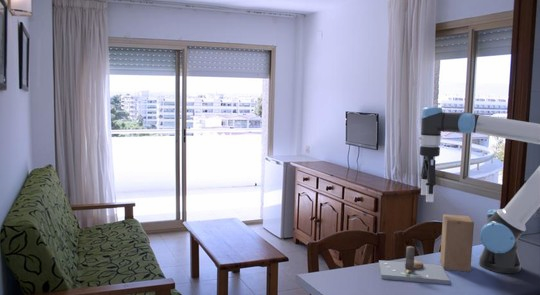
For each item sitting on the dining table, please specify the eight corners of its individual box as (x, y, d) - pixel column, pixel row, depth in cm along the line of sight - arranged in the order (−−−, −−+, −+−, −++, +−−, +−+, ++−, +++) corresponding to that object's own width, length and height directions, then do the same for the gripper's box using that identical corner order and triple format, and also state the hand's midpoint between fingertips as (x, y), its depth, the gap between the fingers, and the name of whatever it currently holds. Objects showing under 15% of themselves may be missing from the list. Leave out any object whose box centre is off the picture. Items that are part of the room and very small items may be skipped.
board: (441, 268, 187) (441, 264, 187) (449, 284, 172) (449, 279, 172) (378, 263, 191) (379, 259, 191) (381, 278, 176) (381, 274, 175)
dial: (407, 261, 190) (408, 238, 189) (425, 264, 186) (426, 241, 185) (396, 272, 177) (398, 248, 176) (415, 276, 173) (417, 252, 172)
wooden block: (470, 272, 184) (474, 221, 182) (443, 269, 186) (446, 220, 184) (465, 263, 194) (468, 215, 192) (439, 261, 196) (442, 213, 194)
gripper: (416, 142, 202) (413, 191, 204) (425, 148, 178) (421, 204, 180) (434, 143, 201) (431, 192, 203) (446, 149, 176) (442, 205, 179)
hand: (426, 198), depth 191 cm, fingers open, 13 cm apart
